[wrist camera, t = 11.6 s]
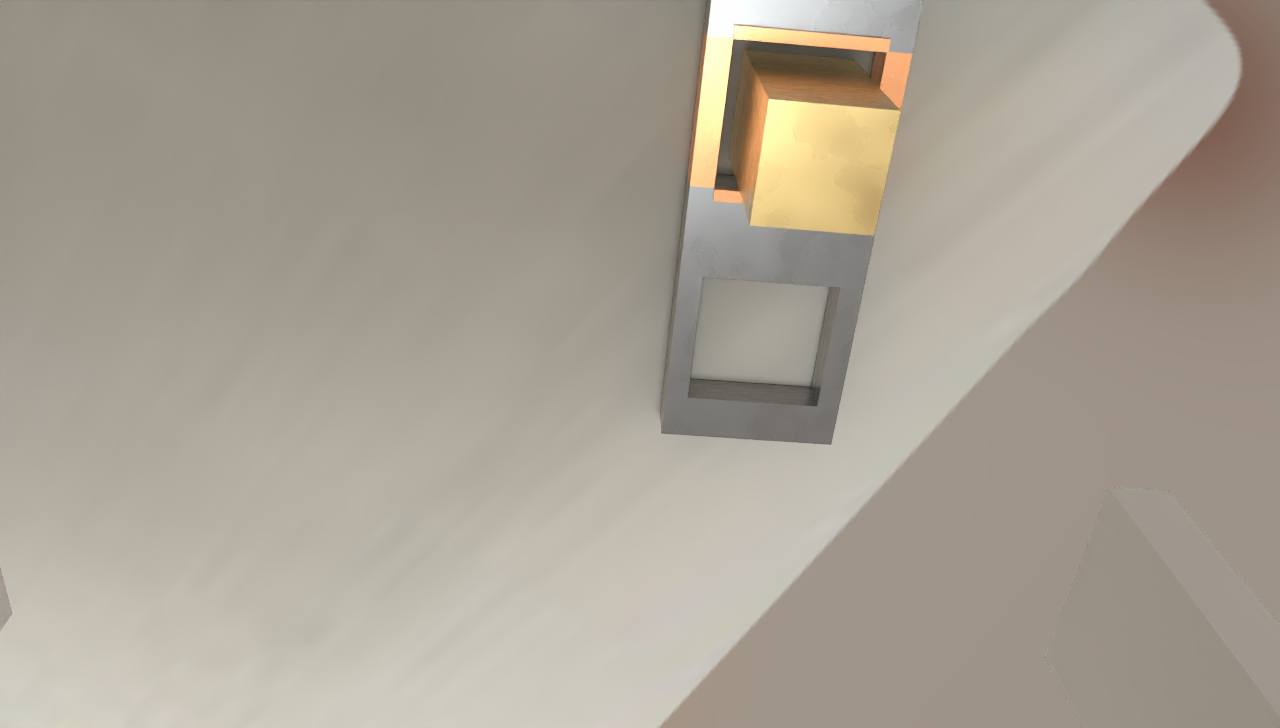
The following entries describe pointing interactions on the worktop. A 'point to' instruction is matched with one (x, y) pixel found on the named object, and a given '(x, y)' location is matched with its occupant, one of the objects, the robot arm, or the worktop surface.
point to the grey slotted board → (732, 249)
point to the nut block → (811, 143)
